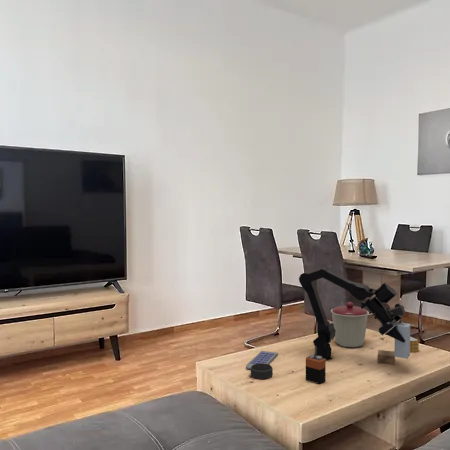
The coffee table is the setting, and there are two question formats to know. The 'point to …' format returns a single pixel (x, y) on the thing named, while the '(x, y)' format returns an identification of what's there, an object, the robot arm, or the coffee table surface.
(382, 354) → the walnut block
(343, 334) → the canister
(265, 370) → the smart speaker
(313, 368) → the battery
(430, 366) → the coffee table surface
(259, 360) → the remote control
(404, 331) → the slate block
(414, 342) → the puzzle toy
